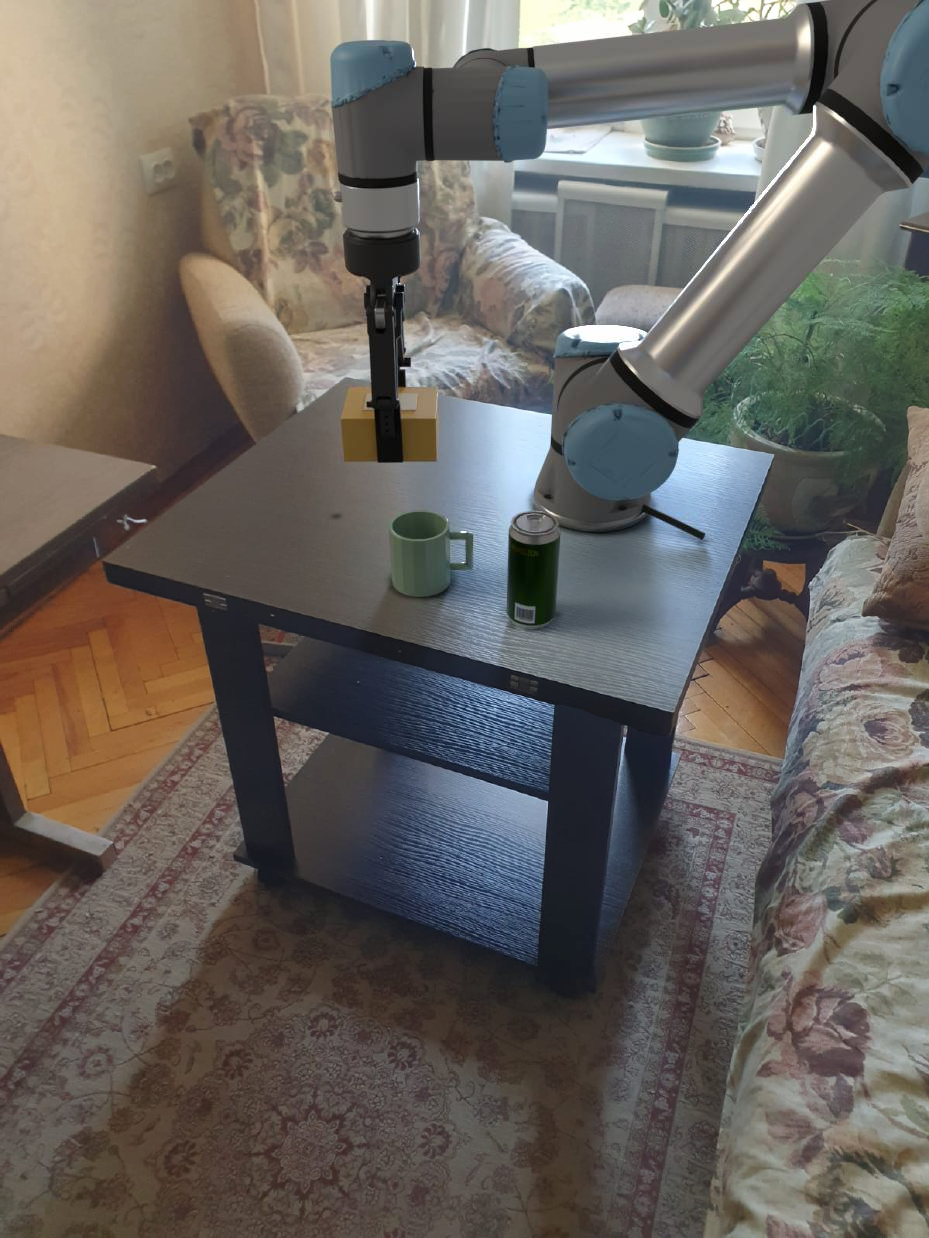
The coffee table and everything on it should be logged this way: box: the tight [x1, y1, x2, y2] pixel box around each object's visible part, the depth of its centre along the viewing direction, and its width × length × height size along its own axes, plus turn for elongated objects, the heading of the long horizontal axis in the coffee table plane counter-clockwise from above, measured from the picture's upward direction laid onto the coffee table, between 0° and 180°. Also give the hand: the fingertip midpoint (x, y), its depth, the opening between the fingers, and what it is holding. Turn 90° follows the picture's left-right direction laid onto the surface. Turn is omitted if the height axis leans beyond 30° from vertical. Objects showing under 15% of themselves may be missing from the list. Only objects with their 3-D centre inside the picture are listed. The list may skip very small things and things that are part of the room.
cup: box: [388, 509, 474, 598], centre depth 107 cm, size 10×7×8 cm
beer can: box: [506, 510, 561, 630], centre depth 100 cm, size 5×5×12 cm
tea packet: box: [340, 386, 440, 463], centre depth 103 cm, size 10×8×5 cm
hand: (393, 442), depth 104 cm, fingers closed on tea packet, 8 cm apart
